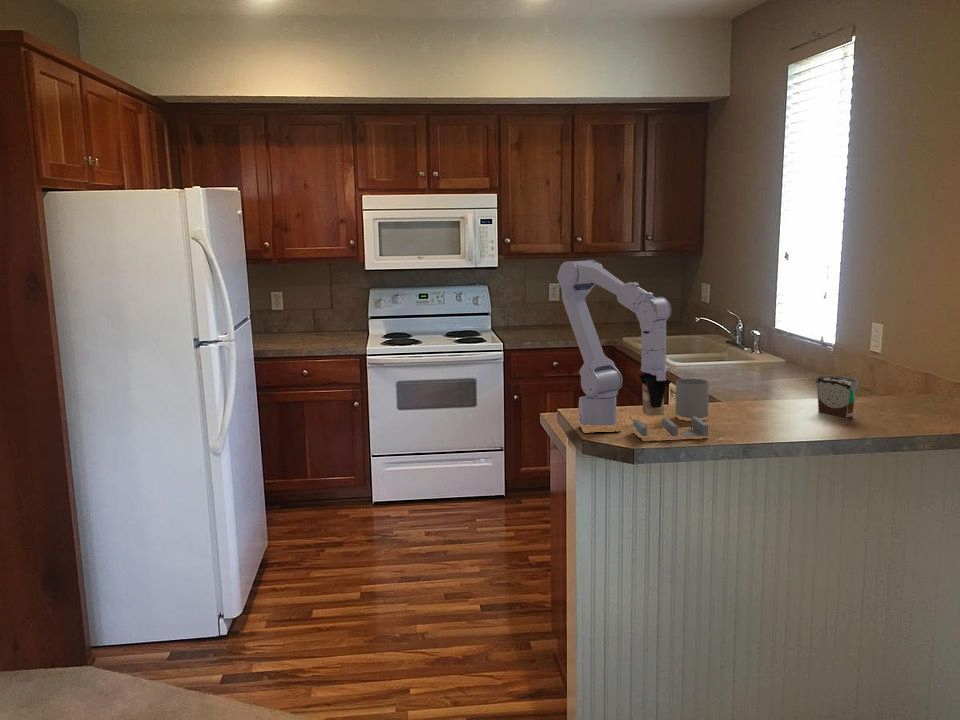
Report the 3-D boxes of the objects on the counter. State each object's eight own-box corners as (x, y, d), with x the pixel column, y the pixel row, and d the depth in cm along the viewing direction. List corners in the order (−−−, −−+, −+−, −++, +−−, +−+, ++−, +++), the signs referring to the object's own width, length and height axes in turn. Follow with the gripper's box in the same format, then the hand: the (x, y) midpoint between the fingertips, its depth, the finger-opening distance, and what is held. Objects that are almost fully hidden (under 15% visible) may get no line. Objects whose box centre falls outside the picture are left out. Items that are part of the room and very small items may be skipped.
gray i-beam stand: (642, 442, 186) (642, 427, 186) (633, 432, 195) (633, 419, 195) (707, 439, 187) (708, 424, 187) (695, 429, 196) (695, 416, 195)
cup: (681, 413, 214) (681, 377, 213) (711, 416, 210) (711, 379, 208) (671, 420, 207) (672, 383, 205) (702, 423, 203) (703, 385, 201)
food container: (868, 418, 202) (870, 380, 200) (850, 421, 199) (852, 383, 198) (831, 409, 213) (832, 373, 211) (814, 411, 211) (815, 375, 209)
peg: (646, 415, 184) (646, 386, 182) (642, 412, 188) (642, 383, 186) (664, 415, 184) (663, 386, 183) (659, 411, 188) (659, 382, 187)
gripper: (679, 352, 176) (678, 411, 178) (662, 344, 190) (662, 398, 193) (648, 354, 176) (648, 412, 178) (633, 345, 190) (633, 399, 192)
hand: (653, 405), depth 185 cm, fingers closed on peg, 4 cm apart
